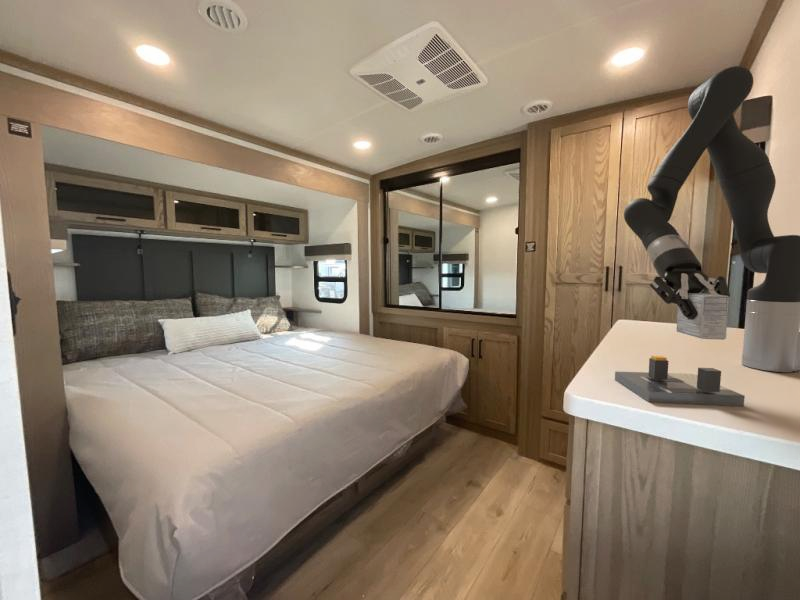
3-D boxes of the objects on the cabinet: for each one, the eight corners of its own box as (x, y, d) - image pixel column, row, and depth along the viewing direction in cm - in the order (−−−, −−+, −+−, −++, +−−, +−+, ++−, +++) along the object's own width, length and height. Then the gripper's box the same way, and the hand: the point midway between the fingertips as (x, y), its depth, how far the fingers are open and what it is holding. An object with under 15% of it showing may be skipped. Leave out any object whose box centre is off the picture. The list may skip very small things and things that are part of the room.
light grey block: (726, 340, 64) (730, 295, 63) (700, 339, 65) (703, 295, 64) (698, 332, 72) (701, 292, 71) (675, 331, 73) (678, 292, 72)
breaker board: (692, 382, 74) (693, 373, 74) (743, 406, 61) (744, 395, 61) (614, 379, 76) (615, 371, 76) (648, 402, 63) (649, 391, 63)
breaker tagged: (661, 376, 71) (662, 355, 70) (667, 379, 69) (668, 358, 68) (648, 376, 71) (649, 355, 71) (654, 379, 69) (655, 357, 69)
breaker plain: (711, 388, 64) (712, 368, 63) (719, 392, 62) (721, 371, 61) (696, 387, 64) (698, 367, 64) (704, 391, 62) (706, 370, 62)
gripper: (645, 246, 75) (678, 305, 64) (716, 245, 73) (762, 306, 62) (631, 270, 81) (659, 327, 70) (697, 269, 79) (736, 328, 68)
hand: (708, 317), depth 66 cm, fingers closed on light grey block, 4 cm apart
